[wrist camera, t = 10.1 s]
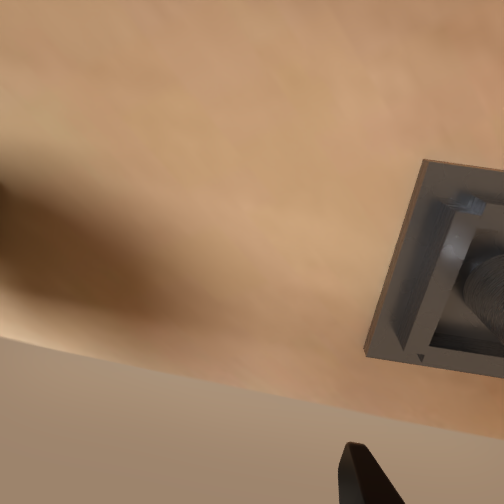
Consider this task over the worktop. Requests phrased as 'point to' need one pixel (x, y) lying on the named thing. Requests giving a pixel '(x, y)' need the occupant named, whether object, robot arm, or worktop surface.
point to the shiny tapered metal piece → (487, 294)
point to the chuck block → (442, 273)
